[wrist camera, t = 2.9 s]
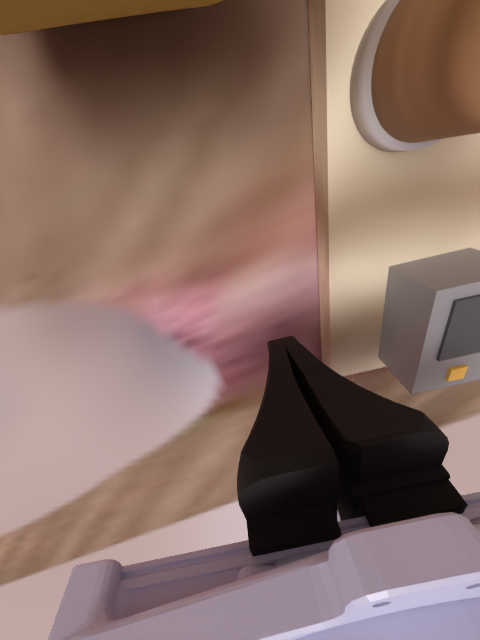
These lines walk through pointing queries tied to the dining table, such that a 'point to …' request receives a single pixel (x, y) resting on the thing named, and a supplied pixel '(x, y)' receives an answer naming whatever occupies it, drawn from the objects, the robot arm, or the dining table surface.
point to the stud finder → (433, 321)
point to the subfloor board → (374, 196)
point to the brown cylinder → (417, 74)
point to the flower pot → (79, 11)
